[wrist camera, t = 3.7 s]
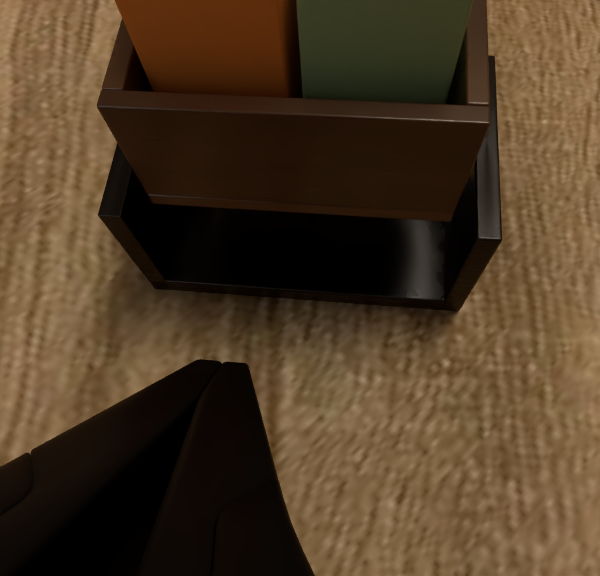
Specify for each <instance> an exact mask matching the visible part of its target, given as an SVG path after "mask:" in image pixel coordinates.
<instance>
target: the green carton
mask: <svg viewBox="0 0 600 576" xmlns="http://www.w3.org/2000/svg"><path fill="white" fill-rule="evenodd" d="M473 1H474V0H296V5H297V19H298V34H299V48H300V62H301V76H302V90H303V98H310V99H334V100H357V101H380V102H404V103H427V104H445V103H446V100H447V96H448V92H449V89H450V85H451V82H452V78H453V74H454V71H455V67H456V63H457V60H458V56H459V52H460V49H461V45H462V41H463V38H464V34H465V30H466V27H467V23H468V19H469V16H470V12H471V8H472V5H473Z"/></svg>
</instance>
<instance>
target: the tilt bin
mask: <svg viewBox="0 0 600 576" xmlns="http://www.w3.org/2000/svg"><path fill="white" fill-rule="evenodd" d="M489 106H490V93H489V62H488V32H487V2H486V0H474V1H473V5H472V8H471V12H470V16H469V19H468V23H467V27H466V30H465V34H464V38H463V41H462V45H461V49H460V52H459V56H458V60H457V63H456V67H455V71H454V74H453V78H452V82H451V85H450V89H449V92H448V96H447V100H446V103H445V104H427V103H404V102H380V101H357V100H334V99H310V98H287V97H264V96H241V95H217V94H194V93H171V92H153V90H152V87H151V85H150V83H149V80H148V78H147V75H146V73H145V71H144V68H143V66H142V64H141V61H140V59H139V56H138V54H137V52H136V49H135V47H134V45H133V42H132V40H131V38H130V35H129V33H128V30H127V28H126V26H125V23H124V21H123V19H122V21H121V24H120V28H119V31H118V34H117V38H116V41H115V45H114V48H113V51H112V55H111V58H110V62H109V65H108V68H107V72H106V75H105V78H104V82H103V85H102V90H101V93H100V96H99V99H98V103H97V108H98V110H99V111H100V113H101V115H102V117H103V118H104V120H105V122H106V123H107V125H108V127H109V129H110V130H111V132H112V134H113V136H114V137H115V139H116V141H117V143H118V144H119V146H120V148H121V150H122V151H123V153H124V155H125V157H126V158H127V160H128V162H129V163H130V165H131V167H132V169H133V170H134V172H135V174H136V176H137V177H138V179H139V181H140V183H141V184H142V186H143V188H144V190H145V191H146V193H147V194H148V197H149V199H150V200H151V202H152V203H153V204H167V205H183V206H200V207H216V208H232V209H249V210H265V211H282V212H298V213H314V214H331V215H347V216H363V217H380V218H396V219H412V220H429V221H445V222H451V221H452V219H453V216H454V214H455V211H456V208H457V206H458V203H459V201H460V198H461V196H462V193H463V191H464V188H465V186H466V183H467V181H468V178H469V176H470V173H471V171H472V168H473V166H474V163H475V161H476V159H477V156H478V154H479V151H480V149H481V146H482V144H483V141H484V139H485V136H486V134H487V131H488V129H489V126H490V108H489Z"/></svg>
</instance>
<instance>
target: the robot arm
mask: <svg viewBox="0 0 600 576" xmlns="http://www.w3.org/2000/svg"><path fill="white" fill-rule="evenodd" d="M0 576H315V575H314V573H313V571H312V569H311V566H310V564H309V562H308V560H307V558H306V556H305V554H304V552H303V549H302V547H301V545H300V542H299V540H298V537H297V535H296V533H295V530H294V528H293V526H292V523H291V520H290V517H289V514H288V511H287V508H286V505H285V501H284V498H283V495H282V491H281V487H280V483H279V480H278V477H277V473H276V469H275V465H274V462H273V458H272V454H271V450H270V446H269V442H268V439H267V435H266V431H265V427H264V423H263V420H262V416H261V412H260V408H259V404H258V400H257V397H256V393H255V389H254V385H253V381H252V378H251V374H250V370H249V366H248V365H247V364H246V363H237V362H224V363H223V364H222V363H221V362H219V361H213V360H202V359H200V360H196V361H194V362H192V363H190V364H188V365H186V366H185V367H183V368H181V369H179V370H177V371H175V372H174V373H172V374H170V375H168V376H166V377H165V378H163V379H161V380H159V381H157V382H155V383H154V384H152V385H150V386H148V387H146V388H144V389H143V390H141V391H139V392H137V393H135V394H133V395H132V396H130V397H128V398H126V399H124V400H122V401H121V402H119V403H117V404H115V405H113V406H111V407H110V408H108V409H106V410H104V411H102V412H100V413H99V414H97V415H95V416H93V417H91V418H89V419H88V420H86V421H84V422H82V423H80V424H78V425H77V426H75V427H73V428H71V429H69V430H67V431H66V432H64V433H62V434H60V435H58V436H56V437H55V438H53V439H51V440H49V441H47V442H45V443H44V444H42V445H40V446H38V447H36V448H34V449H33V450H32V451H31V455H30V453H25V454H23V455H21V456H20V457H18V458H16V459H14V460H12V461H10V462H9V463H7V464H5V465H3V466H1V467H0Z"/></svg>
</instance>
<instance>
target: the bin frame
mask: <svg viewBox="0 0 600 576" xmlns="http://www.w3.org/2000/svg"><path fill="white" fill-rule="evenodd" d="M488 62H489V93H490V106H489V108H490V126H489V129H488V131H487V134H486V136H485V139H484V141H483V144H482V146H481V149H480V151H479V154H478V156H477V159H476V161H475V163H474V166H473V168H472V171H471V173H470V176H469V178H468V181H467V183H466V186H465V188H464V191H463V193H462V196H461V198H460V201H459V203H458V206H457V208H456V211H455V214H454V216H453V219H452V221H451V222H445V221H429V220H412V219H396V218H380V217H363V216H347V215H331V214H314V213H298V212H282V211H265V210H249V209H232V208H216V207H200V206H183V205H167V204H153V203H152V202H151V200H150V199H149V197H148V194H147V193H146V191H145V190H144V188H143V186H142V184H141V183H140V181H139V179H138V177H137V176H136V174H135V172H134V170H133V169H132V167H131V165H130V163H129V162H128V160H127V158H126V157H125V155H124V153H123V151H122V150H121V148H120V146H119V144H118V143H117V146H116V150H115V154H114V157H113V161H112V165H111V169H110V172H109V176H108V180H107V183H106V187H105V191H104V194H103V198H102V202H101V206H100V209H99V213H98V216H99V217H100V219H101V220H102V221H103V222H104V224H105V225H106V226H107V228H108V229H109V230H110V231H111V233H112V234H113V235H114V237H115V238H116V239H117V241H118V242H119V243H120V244H121V246H122V247H123V248H124V250H125V251H126V252H127V253H128V255H129V256H130V257H131V259H132V260H133V261H134V262H135V264H136V265H137V266H138V268H139V269H140V270H141V271H142V273H143V274H144V275H145V277H146V278H147V279H148V280H149V282H150V283H151V284H152V286H153V287H154V288H155V289H165V290H182V291H195V292H209V293H222V294H235V295H249V296H262V297H275V298H289V299H302V300H315V301H329V302H342V303H356V304H369V305H382V306H396V307H409V308H422V309H436V310H449V311H459V310H460V309H461V307H462V305H463V304H464V302H465V300H466V299H467V297H468V295H469V294H470V292H471V290H472V289H473V287H474V285H475V284H476V282H477V281H478V279H479V277H480V276H481V274H482V272H483V271H484V269H485V267H486V266H487V264H488V263H489V261H490V259H491V258H492V256H493V254H494V253H495V251H496V249H497V248H498V246H499V245H500V243H501V241H502V226H501V200H500V175H499V149H498V124H497V99H496V73H495V57H494V56H488Z"/></svg>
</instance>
